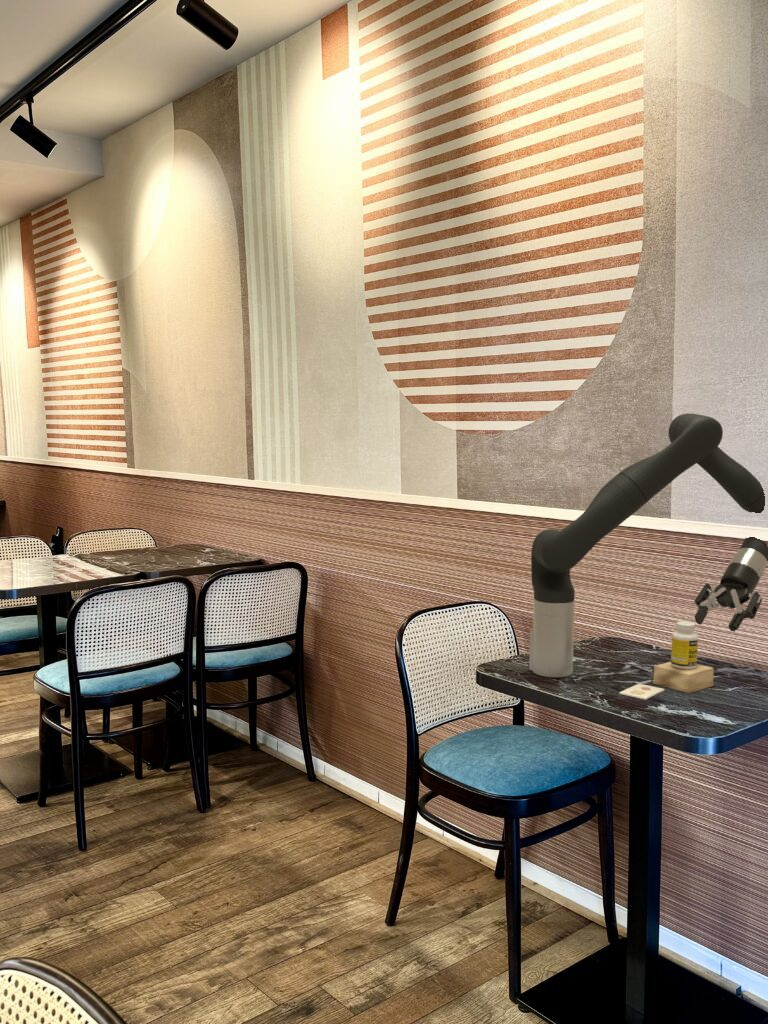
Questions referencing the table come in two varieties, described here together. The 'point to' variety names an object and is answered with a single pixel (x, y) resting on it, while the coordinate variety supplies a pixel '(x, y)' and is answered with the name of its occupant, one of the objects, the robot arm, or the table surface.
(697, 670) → the beech block
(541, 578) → the robot arm
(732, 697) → the table surface
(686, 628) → the supplement bottle
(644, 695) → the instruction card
